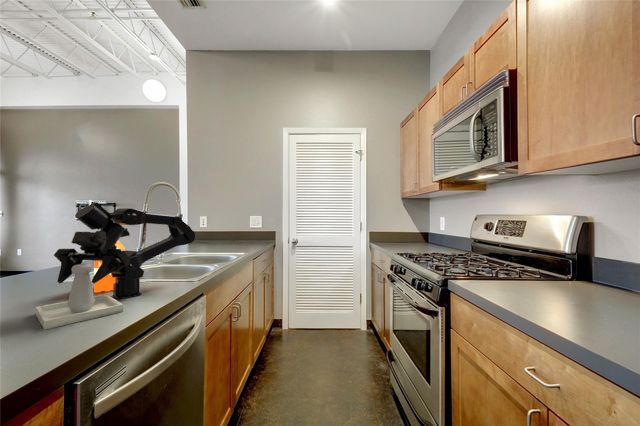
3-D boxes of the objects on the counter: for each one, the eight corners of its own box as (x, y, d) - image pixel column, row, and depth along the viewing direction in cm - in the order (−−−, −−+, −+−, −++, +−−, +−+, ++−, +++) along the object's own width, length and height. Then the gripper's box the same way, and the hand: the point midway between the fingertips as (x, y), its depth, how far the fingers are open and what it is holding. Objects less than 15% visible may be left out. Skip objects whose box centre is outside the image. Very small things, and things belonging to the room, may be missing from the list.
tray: (106, 300, 88) (106, 294, 88) (123, 311, 78) (123, 304, 78) (35, 314, 76) (35, 306, 76) (44, 329, 66) (44, 321, 66)
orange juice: (93, 292, 97) (94, 236, 97) (100, 286, 105) (100, 234, 105) (120, 290, 101) (120, 235, 101) (124, 284, 109) (125, 233, 109)
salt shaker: (66, 315, 73) (66, 267, 73) (68, 309, 78) (68, 264, 78) (94, 311, 77) (94, 264, 77) (94, 305, 81) (95, 261, 81)
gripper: (60, 221, 81) (19, 265, 70) (124, 221, 81) (93, 265, 70) (82, 245, 89) (49, 288, 78) (140, 245, 89) (115, 288, 78)
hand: (76, 282), depth 76 cm, fingers open, 9 cm apart
